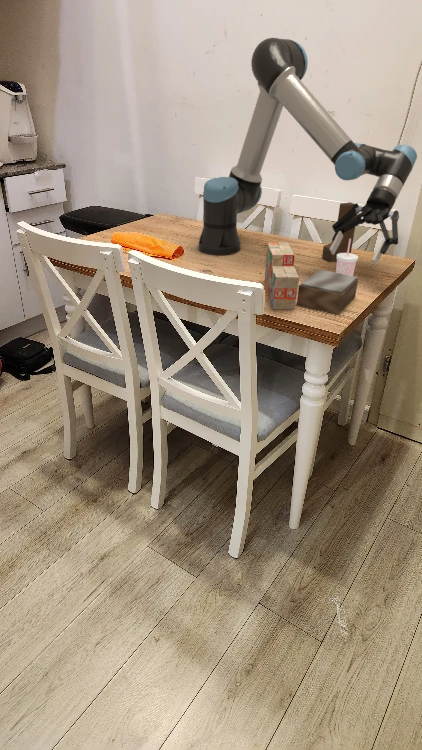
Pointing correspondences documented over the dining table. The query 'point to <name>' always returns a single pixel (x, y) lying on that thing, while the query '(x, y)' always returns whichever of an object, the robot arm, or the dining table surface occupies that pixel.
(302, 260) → the dining table surface
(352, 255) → the beverage cup
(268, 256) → the stack of blocks
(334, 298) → the plinth
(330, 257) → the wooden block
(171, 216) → the dining table surface
